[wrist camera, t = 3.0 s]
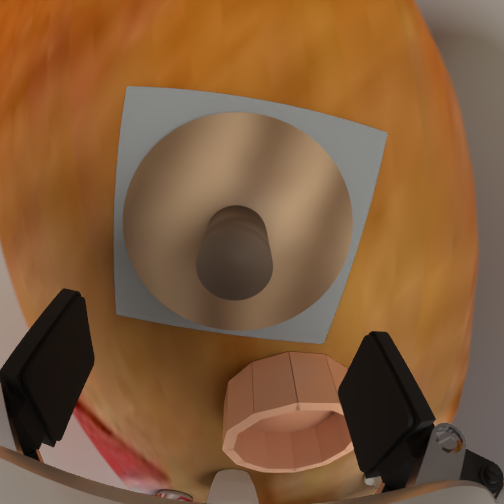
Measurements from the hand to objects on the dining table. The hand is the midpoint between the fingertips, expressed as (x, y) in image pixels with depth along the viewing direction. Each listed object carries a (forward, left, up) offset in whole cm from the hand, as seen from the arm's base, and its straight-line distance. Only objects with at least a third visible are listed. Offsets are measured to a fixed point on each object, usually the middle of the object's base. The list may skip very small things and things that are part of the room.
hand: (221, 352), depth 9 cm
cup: (-5, +38, -13) cm, 41 cm away
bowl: (-8, +17, -13) cm, 23 cm away
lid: (0, 0, -13) cm, 13 cm away
